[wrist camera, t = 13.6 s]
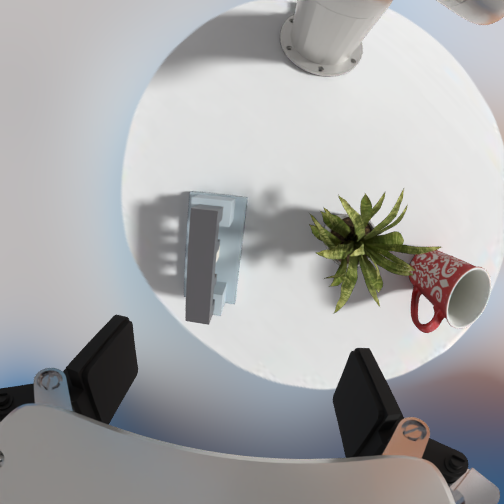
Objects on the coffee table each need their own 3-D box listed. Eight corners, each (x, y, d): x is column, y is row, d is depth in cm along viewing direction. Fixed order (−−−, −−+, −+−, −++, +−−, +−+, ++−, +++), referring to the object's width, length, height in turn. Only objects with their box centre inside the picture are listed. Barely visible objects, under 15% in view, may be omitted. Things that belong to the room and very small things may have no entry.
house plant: (378, 168, 36) (440, 169, 21) (395, 254, 40) (452, 296, 24) (288, 193, 38) (304, 206, 23) (313, 281, 42) (337, 341, 26)
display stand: (192, 191, 39) (177, 194, 32) (247, 197, 39) (243, 201, 32) (186, 292, 43) (173, 313, 36) (235, 300, 43) (230, 322, 36)
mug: (431, 230, 38) (482, 253, 25) (451, 267, 40) (496, 297, 27) (379, 281, 41) (416, 321, 28) (402, 314, 43) (438, 357, 30)
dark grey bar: (199, 204, 33) (190, 208, 29) (223, 206, 33) (217, 211, 29) (193, 306, 37) (185, 320, 33) (214, 309, 37) (208, 324, 33)
